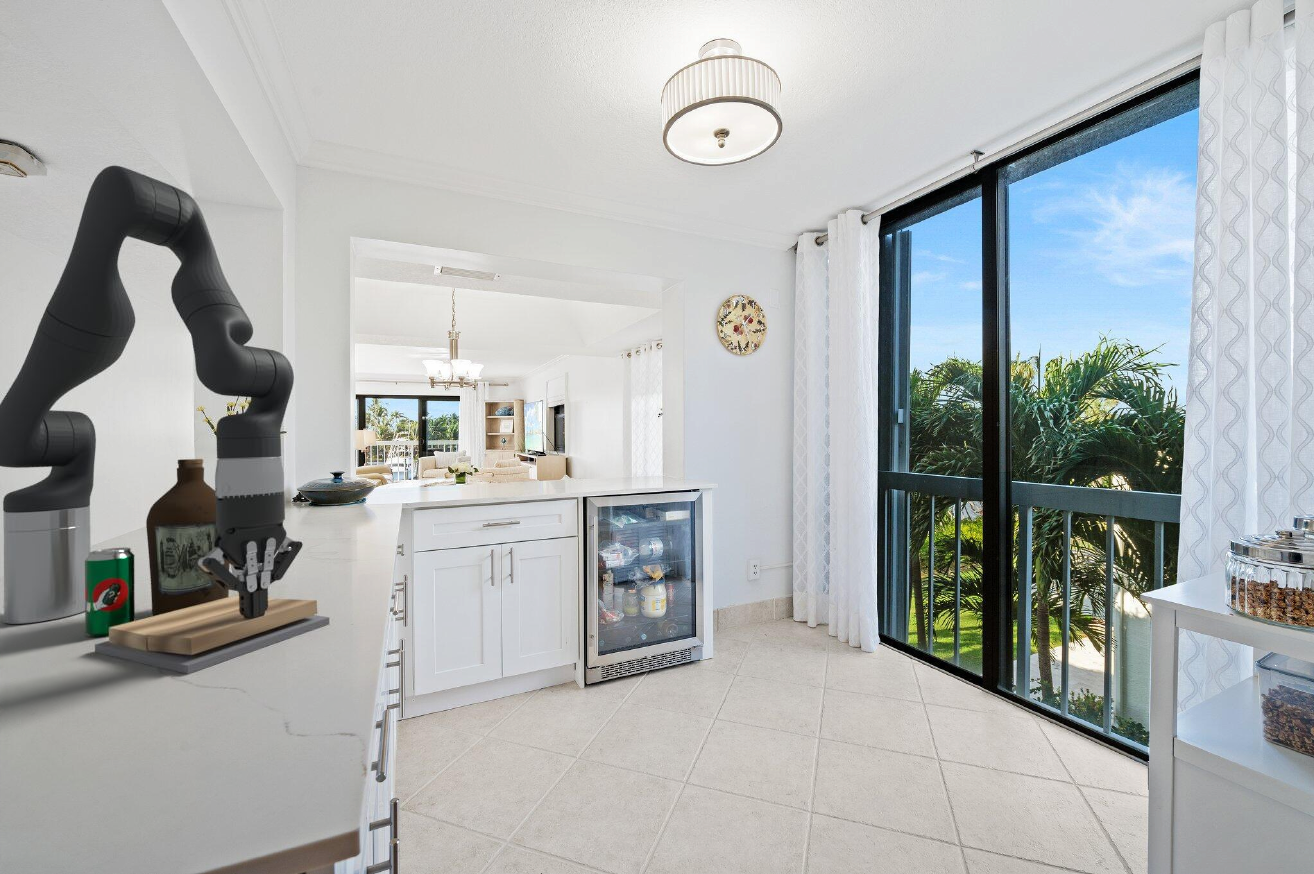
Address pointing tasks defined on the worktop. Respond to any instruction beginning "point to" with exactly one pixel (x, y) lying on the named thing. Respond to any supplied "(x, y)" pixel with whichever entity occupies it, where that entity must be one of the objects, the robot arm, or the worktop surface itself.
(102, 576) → the soda can
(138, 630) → the oak plank
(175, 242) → the robot arm
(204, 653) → the gray flat board
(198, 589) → the brown bottle
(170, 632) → the brown wooden board
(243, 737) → the worktop surface
